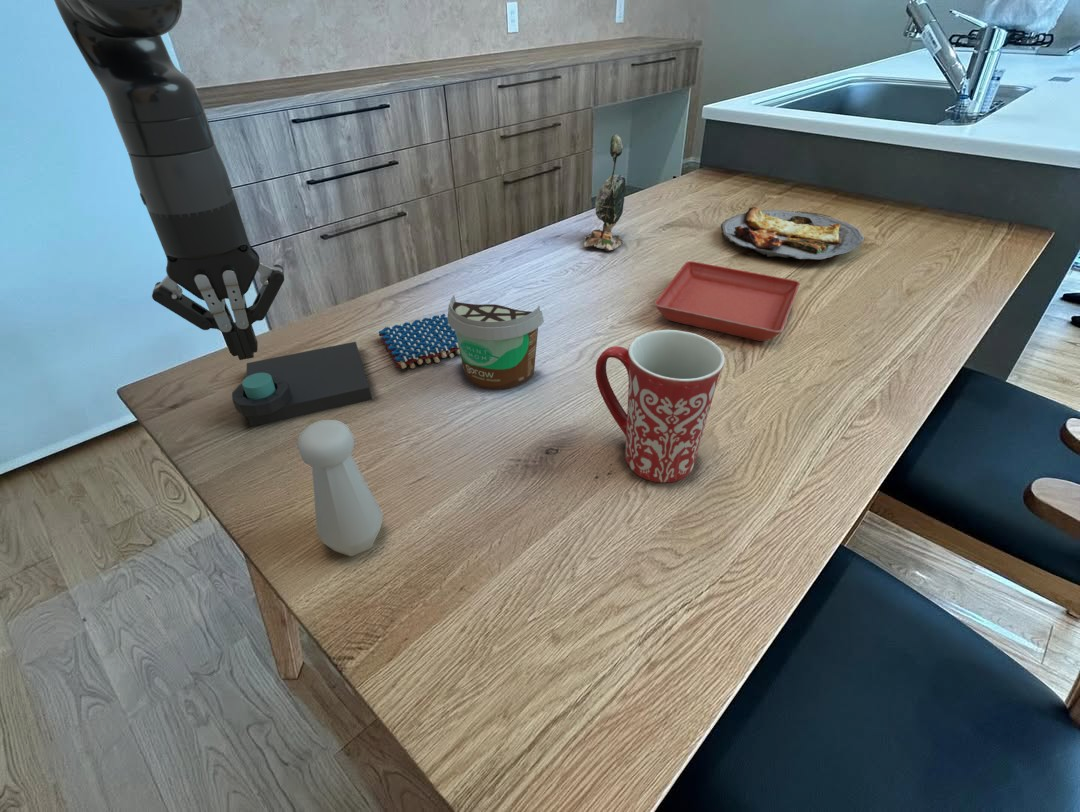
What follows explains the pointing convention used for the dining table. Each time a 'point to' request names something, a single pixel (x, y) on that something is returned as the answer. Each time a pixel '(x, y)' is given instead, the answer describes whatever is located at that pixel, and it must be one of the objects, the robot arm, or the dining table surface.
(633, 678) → the dining table surface
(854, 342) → the dining table surface
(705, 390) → the mug
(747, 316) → the plant saucer
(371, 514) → the salt shaker
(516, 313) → the food container
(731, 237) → the food plate
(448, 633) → the dining table surface
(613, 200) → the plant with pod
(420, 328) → the woven mat
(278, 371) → the scale
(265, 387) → the button
